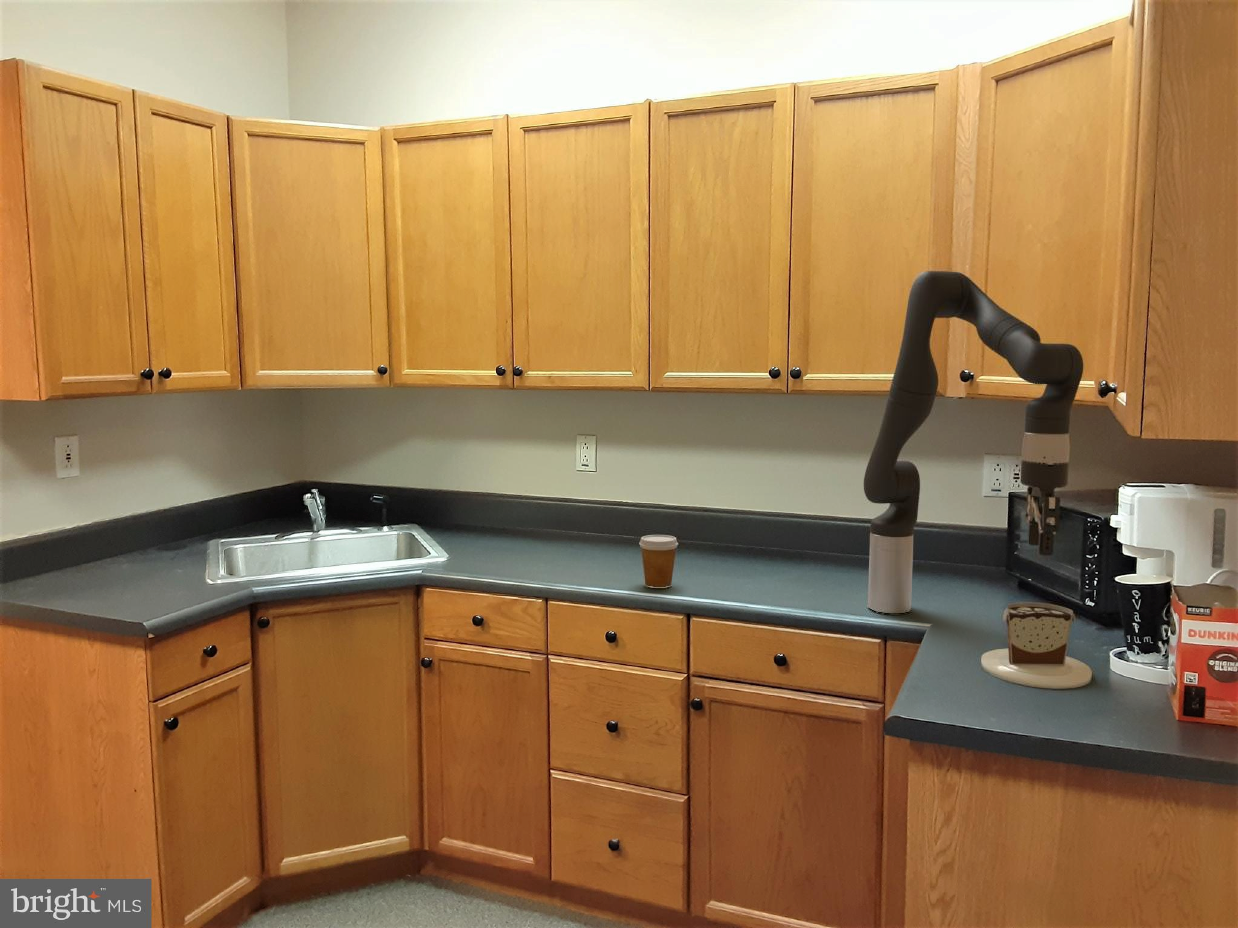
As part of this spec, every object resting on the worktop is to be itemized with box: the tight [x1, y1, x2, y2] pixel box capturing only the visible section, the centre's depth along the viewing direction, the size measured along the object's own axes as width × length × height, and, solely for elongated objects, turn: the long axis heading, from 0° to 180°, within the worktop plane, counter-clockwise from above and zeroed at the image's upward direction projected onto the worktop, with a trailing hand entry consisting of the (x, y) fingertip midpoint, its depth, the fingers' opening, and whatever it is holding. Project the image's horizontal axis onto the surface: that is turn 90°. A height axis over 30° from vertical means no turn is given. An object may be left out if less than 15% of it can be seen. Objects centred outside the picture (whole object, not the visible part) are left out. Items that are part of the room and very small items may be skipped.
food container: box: [1002, 601, 1077, 666], centre depth 165 cm, size 12×6×10 cm, turn 88°
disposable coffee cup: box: [638, 534, 679, 587], centre depth 223 cm, size 10×10×12 cm
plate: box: [980, 648, 1093, 690], centre depth 163 cm, size 18×18×1 cm
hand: (1039, 549), depth 161 cm, fingers open, 8 cm apart
